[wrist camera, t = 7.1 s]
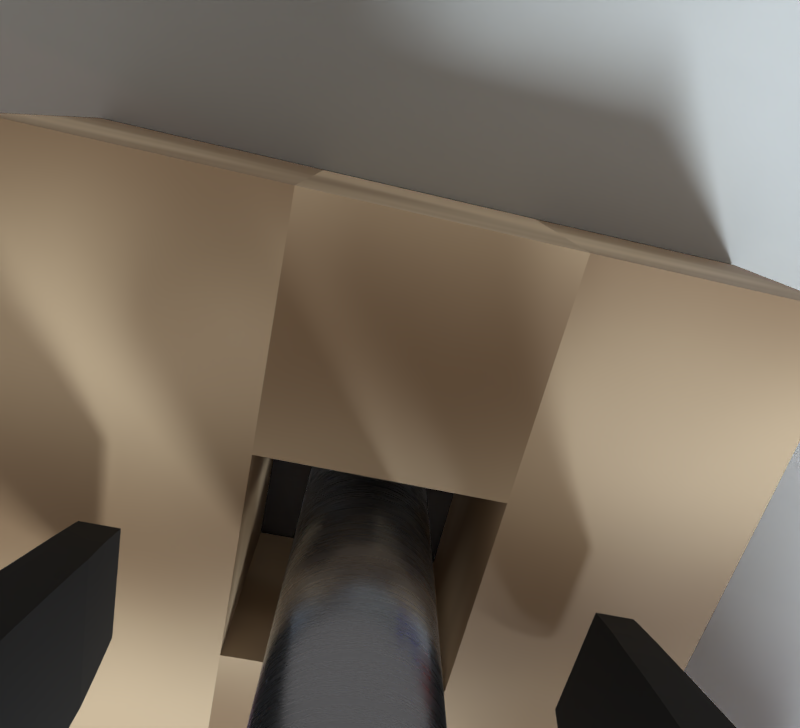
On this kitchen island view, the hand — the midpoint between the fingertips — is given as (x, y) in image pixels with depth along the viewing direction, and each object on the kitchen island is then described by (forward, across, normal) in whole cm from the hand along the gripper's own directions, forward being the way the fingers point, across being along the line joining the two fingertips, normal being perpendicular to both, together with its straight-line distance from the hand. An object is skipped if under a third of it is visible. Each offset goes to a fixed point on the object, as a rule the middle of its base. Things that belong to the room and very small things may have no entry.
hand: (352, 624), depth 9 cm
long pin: (+4, 0, 0) cm, 4 cm away
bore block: (+4, 0, 0) cm, 4 cm away
